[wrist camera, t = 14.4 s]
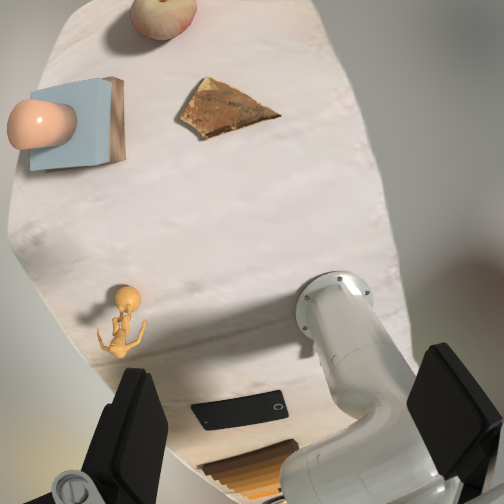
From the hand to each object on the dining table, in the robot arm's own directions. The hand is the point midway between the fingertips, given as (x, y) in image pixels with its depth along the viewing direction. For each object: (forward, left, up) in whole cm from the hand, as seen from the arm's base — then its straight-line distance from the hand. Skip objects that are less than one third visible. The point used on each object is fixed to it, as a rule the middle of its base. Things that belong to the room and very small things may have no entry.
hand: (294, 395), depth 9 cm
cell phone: (-42, +4, -34) cm, 54 cm away
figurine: (-15, +19, -34) cm, 41 cm away
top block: (+12, +22, -29) cm, 38 cm away
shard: (+12, +3, -34) cm, 36 cm away
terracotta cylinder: (+12, +22, -25) cm, 35 cm away
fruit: (+25, +10, -34) cm, 43 cm away
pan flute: (-70, -2, -34) cm, 78 cm away
